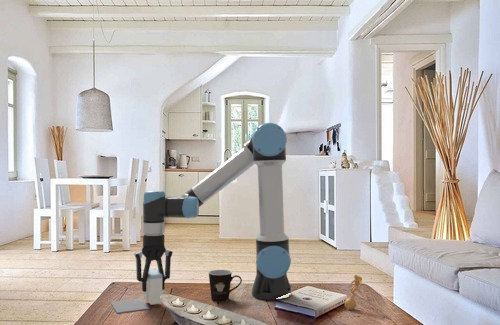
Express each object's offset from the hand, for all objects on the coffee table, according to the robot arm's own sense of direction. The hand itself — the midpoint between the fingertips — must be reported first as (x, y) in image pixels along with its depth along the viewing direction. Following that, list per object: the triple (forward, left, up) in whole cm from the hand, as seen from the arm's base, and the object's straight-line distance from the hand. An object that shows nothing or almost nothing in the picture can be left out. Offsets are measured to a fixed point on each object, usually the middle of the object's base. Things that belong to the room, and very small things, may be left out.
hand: (153, 299), depth 166 cm
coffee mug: (-25, +5, -2) cm, 26 cm away
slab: (0, 0, 0) cm, 0 cm away
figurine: (-61, +35, -2) cm, 70 cm away
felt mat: (+8, -2, -2) cm, 8 cm away
